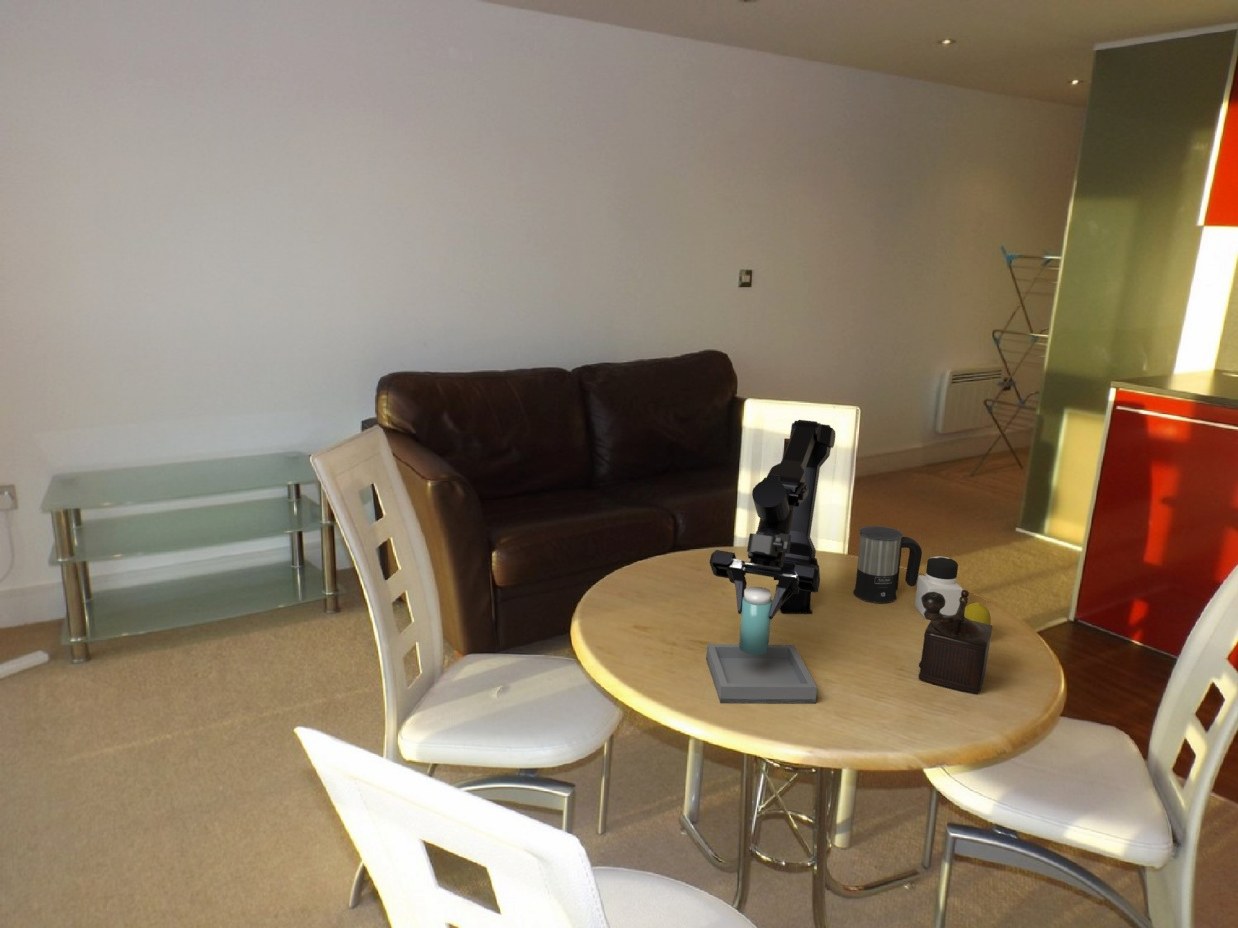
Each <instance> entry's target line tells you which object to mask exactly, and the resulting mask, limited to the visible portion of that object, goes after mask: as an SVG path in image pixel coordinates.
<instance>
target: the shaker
mask: <svg viewBox="0 0 1238 928" xmlns="http://www.w3.org/2000/svg"><path fill="white" fill-rule="evenodd" d="M772 602H773V600H772V590H770V589H769V588H766V587H762V586H749V587H746V589H745V590H744V597H743V600H742V612H741V614H740V616H741V617H740V630H739V648H740V650H741V651H743V652H745V653H748V654H753V655H760V654H764V653H766V652H768V647H769V644H770V632H771V619H769V613H770V608H771V605H772Z"/></svg>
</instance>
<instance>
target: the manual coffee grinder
mask: <svg viewBox="0 0 1238 928" xmlns="http://www.w3.org/2000/svg"><path fill="white" fill-rule="evenodd" d="M969 595H970V593H969V591H968V590H967V589H963V591H962V592H961V597H960V599H959V602H960V605H959V608H958V610H957V613H956V614H955V615H949V616H948V615H944V614H942V613H940V610H941V609H942V608H943V607H944V606H945V602H946V601H945V599H944V596H943V595H942V594H940V593H937V592H928V593H926V594H924V595H923V596H922V598H921V600H922V604H923V607H924V608H925V609H926V610H925V612H924V616H925V618H926V619H925V618H924V619H925V620H929V623H928V624H927V626H926V628H925V632H924V636H923V644H922V651H921V659H920V661H919V663H918V668H919V673H918V680H920V681H922V682H926V683H928V684H930V685H934V686H938V687H942V688H945V689H949V690H954V691H957V692H961V693H965V694H972V695H976V696H977V695H979V694H980V693H981V690H982V688H983V684H984V681H985V676H986V672H987V664H988V657H989V652H990V651H989V650H990V646H991V645H990V644H991V638H992V631H993V628H994V627H993V625H992V624H990V625H988V624H984V623H980V622H976V621H971V620H969V619H968V618H965V616H964V613H965V607H966V606H967V605H968V604H969Z"/></svg>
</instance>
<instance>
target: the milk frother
mask: <svg viewBox="0 0 1238 928" xmlns="http://www.w3.org/2000/svg"><path fill="white" fill-rule="evenodd" d="M858 534H859V535H860V536H859V546H858V557H857V569H856V577H855V578H856V579H855V583H854V584H855V586H854V589H853V592H852V593H853V595H854V596H855V597H856V598H858V599H860V600H862V601H865V602H868V603H874V604H889V603H893V602H895V601H897V598H898V596H897V590H898V589H899V580H900V579H899V578H900V571H901V570H900V568H901V557H902V550H903V549H906V548H907V549H909V553H908V559H907V565H906V573H905V583H906V584H907V585H908V586H909V587H915V586H917V583H918V576H919V572H920V568H921V567H920V566H921V560H922V554H923V552H922V551H923V550H922V548H921V546H920V544H919V543H918V542H917V541H916V540H914V538H912V537H908V536H904V533H903V532H901V531H900V530H898V529H895V528H892V527H887V526H882V525H868V526H864V527H860V529H859V533H858ZM902 548H903V549H902Z"/></svg>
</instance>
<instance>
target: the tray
mask: <svg viewBox="0 0 1238 928" xmlns="http://www.w3.org/2000/svg"><path fill="white" fill-rule="evenodd" d="M705 659H706V663H707V666H708V668H709V674H710V676H711V678H712V681H713V682H712V683H713V684H714V688H715V691H716V694H717V697H718V701H719V703H720V704H801V705H803V704H811V705H812V704H813V705H814V704H816V703H817V692H818V686H817V685H816V682H815V681H814V679H813V677H812V675H811V674H810V672H809V670H808V668H807V666H806V664H805V662H804V661H803V659H802V657H801V655H800V653H799V651H798V649H797V648H796V645H794V644H770V643H769V647H768V652H766V653H764V654H760V655H753V654H748V653H745V652H743V651H741V650H740V648H739V644H737V643H733V644H732V643H707V644H706V657H705Z"/></svg>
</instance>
